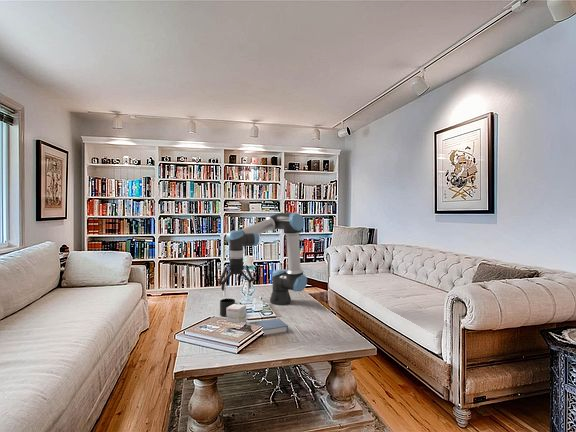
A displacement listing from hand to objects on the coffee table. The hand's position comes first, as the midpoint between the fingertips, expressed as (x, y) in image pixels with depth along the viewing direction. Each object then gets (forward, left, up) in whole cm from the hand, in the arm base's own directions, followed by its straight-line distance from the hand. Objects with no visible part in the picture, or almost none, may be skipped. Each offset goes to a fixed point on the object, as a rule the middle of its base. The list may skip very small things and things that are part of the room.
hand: (236, 294), depth 182 cm
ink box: (0, 0, -18) cm, 18 cm away
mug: (-1, -22, -18) cm, 29 cm away
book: (-15, +12, -18) cm, 27 cm away
